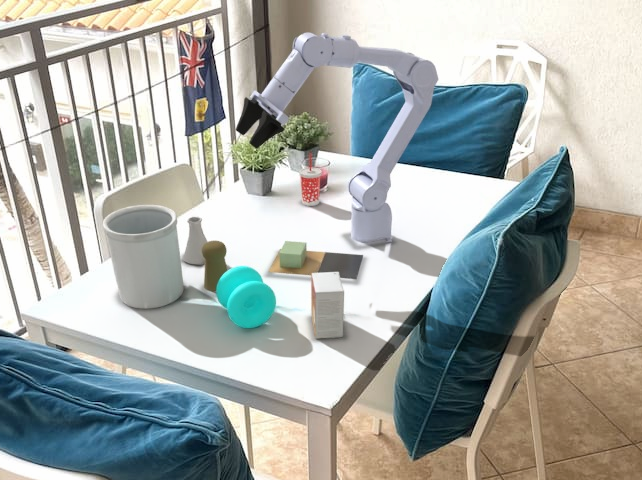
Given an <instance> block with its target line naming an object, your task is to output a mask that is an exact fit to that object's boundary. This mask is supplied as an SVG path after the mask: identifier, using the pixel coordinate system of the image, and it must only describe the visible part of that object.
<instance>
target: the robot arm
mask: <svg viewBox="0 0 642 480" xmlns="http://www.w3.org/2000/svg"><path fill="white" fill-rule="evenodd" d="M358 63H360V64H366V65H373V66H381V67H386V68H388V70H390V71H392V74H393V77H394V78H395V80H396V81H397V83H398V84H399V86H400V87H401V89H402V93H403V98H404V100H405V101H404V103H403V105H402V107H401V109H400V111H399V112H398V114H397V116H396V117H395V119H394V121H393V123H392V124H391V126H390V127H389V129H388V131H387V133H386V135H385V136H384V138H383V140H382V141H381V143H380V145H379V147H378V148H377V150H376V152H375V153H374V155H373V157H372V158H371V160H370V162H368V163H366V164H364V165H362V166H361V167H360V169H359V170H358V171H357V172H356V173H355V174H354V175H352V177H351V178H350V179H349V181H348V184H347V191H348V193H349V195H351V197H352V199H351V217H350V218H351V219H350V222H351V223H350V224H351V225H350V238H351V239H352V240H355V241H356V242H359V243H360V242H361V243H372V242H377V241H379V240H384V239H386V241H385V243H386V244H388V243H392V242H393V239H392V225H393V223H392V222H393V213H392V209H391V206H390V205H389V203H388V202H386V201H387V198H388V193H389V191H390V188H391V187H392V180H391V174H392V172H393V170H394V169H395V167H396V165H397V164H398V162H399V160H400V159H401V157H402V155H403V154H404V152H405V150H406V149H407V147H408V145H409V143H410V142H411V140H412V139H413V137H414V135H415V133H416V131H417V130H418V129H419V127H420V125H421V124H422V122H423V119H424V118H425V116H426V115H427V113H428V112H429V110H430V109H431V106H432V102H433V98H434V97H433V96H434V90H435V87H436V85H437V83H438V82H439V75H438V72H437V69H436V65H435V64H434V62H432V61H431V60H428V59H424V58H422V57H420V56H417V55H415V54H414V53H412V52H405V51H403V50H400V49H396V48H387V47H373V46H360V45H359V44H358V42H357V40H356V39H354V38H351V35H348V34H342V37H340V36H331V35H329V33H327V32H322V33H321V35H320V36H319V35H316V34H314V33H313V32H309V31H307V32H303V33H302V34H300V35H299V36H296V37H295V38H294V39H293V42H292V51H291V52H290V54H288V56H287V57H286V59H285V60H284V62H283V63H282V64H281V66H280V67H279V69H278V70H277V71H276V73H275V74H274V76H272V78H271V80H270V81H269V82H268V84H267V85H266V87H265V88H264V90H263V91H262V92H261V93H260V92H259V91H257V90H256V89H254V90H253V92H252V93H251V95H250V96H249V98H248V97H247V96H245V97H244V99H243V107H242V111H241V115H240V117H239V119H238V122H237V125H236V127H235V131H236V132H237V133H239V134H240V135H241V136H245V135H246V134H247V133H248V132H249V130H251V128H252V127H253V126H254V125H255V124H256V123H257V122H258V121H259V123H258V125H257V128H256V129H255V131H254V133H253V134H252V136H251V138H250V140H249V143H248V144H249V145H251V146H252V147H254V148H255V149H256V150H258V149H259V148H260V147H262V146H263V145H264V144H265V143H266V142H268V141H269V140H270V139H271V138H273V137H274V136H276V135H278V134H281V133H283V132H284V131H285V130H286V129H285V128H284V126H285V125H286V124H287V123H288V121H289V120H290V117H289V116H288V115H287V114H286V113H284V111H285V110H286V108H287V107H288V105H289V104H290V103H291V102H292V100H293V98H294V97H295V96H296V94H297V93H298V92H299V90H300V88H302V87H303V85H304V84H305V82H306V80H307V79H308V78H309V76H310V75H311V74H312V72H314V70H315V68H320V67H322V66H327V67H337V68H346V69H351V68H353V67H355V65H357V64H358ZM268 107H269V108H268Z"/></svg>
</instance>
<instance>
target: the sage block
mask: <svg viewBox="0 0 642 480" xmlns="http://www.w3.org/2000/svg"><path fill="white" fill-rule="evenodd" d="M280 249H281V251H280V253H279V260H280V267H289V268H302V265H303V263H304V261H305V258H306V256H307V251H308V250H307V249H308V248H307V242H304V241H290V240H285V241H284V243H283V245H282V247H281V248H280Z"/></svg>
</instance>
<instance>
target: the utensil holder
mask: <svg viewBox="0 0 642 480" xmlns="http://www.w3.org/2000/svg"><path fill="white" fill-rule="evenodd" d="M177 215H178V214H177V213H176V212H175V211H174V210H173V209H171V208H169V207H167V206H163V205H157V204H138V205H130V206H126V207H122V208H119V209H117V210H114V211H113V212H110V213H109V214H108V215H106V216H105V217H104V219H103V220H102V229H103V232H104V233H105V237H106V241H107V247H108V250H109V255H110V260H111V264H112V268H113V273H114V279H115V282H116V285H117V290H118V294H119V298H120V300H121V302H122V303H124V305H126V306H127V307H131V308H134V309H141V310H143V309H145V310H147V309H148V310H149V309H157V308H162V307H165V306H168V305H169V304H172V303H174V302H176V301H177V300H178V299H179V298H180V297H181V296H182V295H183V293H184V289H185V288H184V280H183V279H184V278H183V268H182V260H181V252H180V251H181V250H180V244H179V236H178V235H179V234H178V226H177V225H178V216H177Z"/></svg>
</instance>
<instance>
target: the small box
mask: <svg viewBox="0 0 642 480" xmlns="http://www.w3.org/2000/svg"><path fill="white" fill-rule="evenodd" d="M310 277H311V278H310V285H311V286H310V300H311V301H310V302H311V303H310V304H311V306H310V307H311V309H310V312H311V313H310V314H311V315H310V317H311V321H312V326H313V334H314V338H315V340H319V339H336V338H337V339H338V338H343V337H344V315H345V314H344V310H345V289H344V286H343V283H342V280H341V279H342V278H340V275H339V272H324V273H311V275H310Z"/></svg>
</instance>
